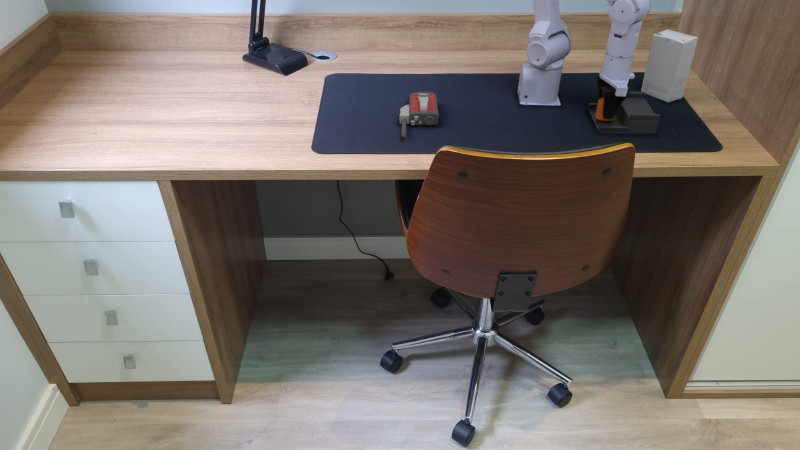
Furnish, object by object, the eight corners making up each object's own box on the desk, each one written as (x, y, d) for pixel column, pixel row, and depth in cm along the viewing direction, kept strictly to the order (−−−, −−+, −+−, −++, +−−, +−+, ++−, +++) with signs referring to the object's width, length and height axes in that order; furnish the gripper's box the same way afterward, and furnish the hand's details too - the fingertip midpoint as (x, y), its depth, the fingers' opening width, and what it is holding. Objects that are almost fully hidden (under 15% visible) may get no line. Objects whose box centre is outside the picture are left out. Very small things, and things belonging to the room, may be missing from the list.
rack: (597, 134, 122) (602, 114, 119) (587, 110, 131) (591, 90, 128) (654, 135, 121) (660, 115, 118) (640, 111, 131) (645, 91, 128)
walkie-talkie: (400, 102, 136) (398, 142, 120) (400, 84, 133) (398, 123, 117) (436, 102, 135) (440, 142, 119) (437, 84, 133) (440, 123, 117)
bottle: (597, 120, 124) (602, 97, 121) (593, 112, 128) (598, 89, 124) (616, 121, 124) (622, 97, 121) (612, 113, 127) (617, 89, 124)
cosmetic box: (682, 98, 136) (701, 37, 127) (666, 105, 133) (685, 42, 124) (652, 87, 141) (669, 27, 132) (637, 92, 139) (653, 32, 130)
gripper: (649, 67, 111) (632, 129, 119) (630, 41, 122) (616, 99, 131) (612, 66, 111) (598, 128, 120) (597, 41, 123) (585, 99, 131)
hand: (605, 113), depth 125 cm, fingers closed on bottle, 4 cm apart
